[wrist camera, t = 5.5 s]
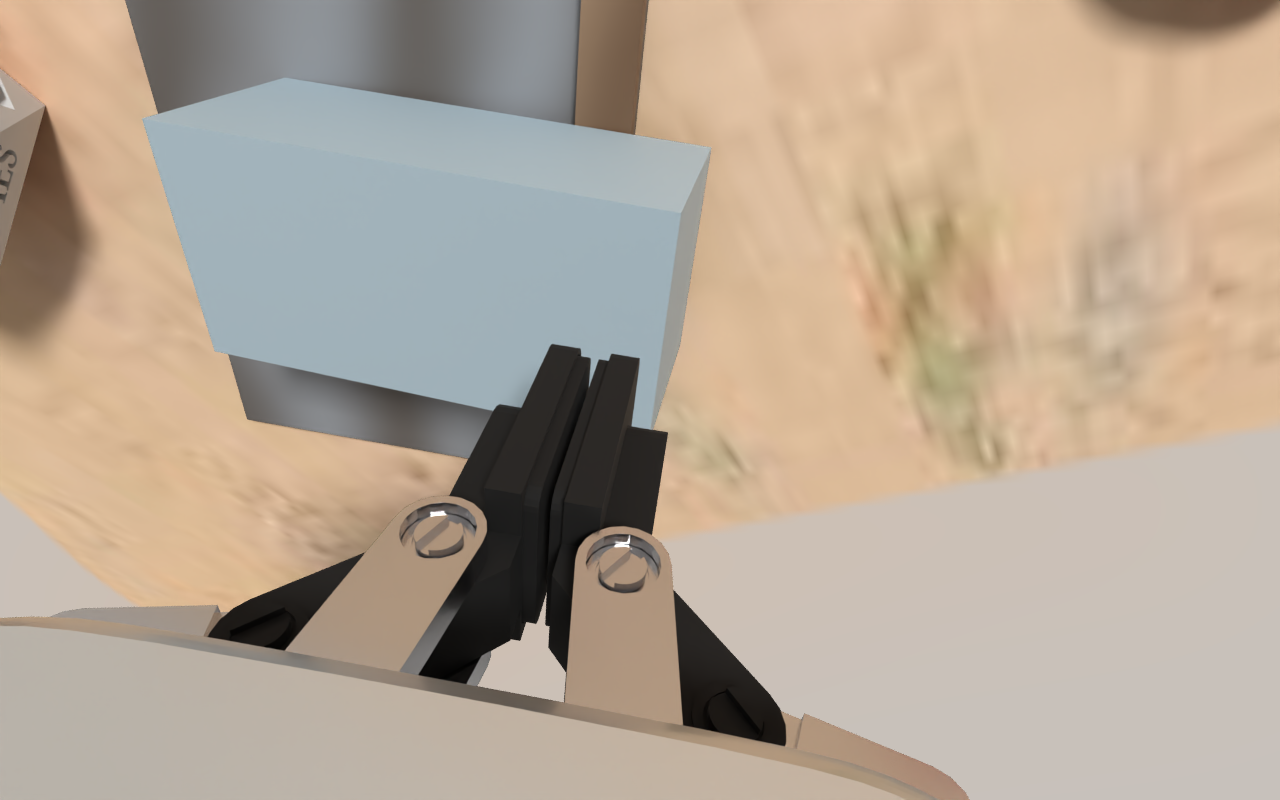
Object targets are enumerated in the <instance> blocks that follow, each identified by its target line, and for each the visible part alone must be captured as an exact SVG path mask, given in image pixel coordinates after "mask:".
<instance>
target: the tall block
mask: <svg viewBox="0 0 1280 800" xmlns="http://www.w3.org/2000/svg"><path fill="white" fill-rule="evenodd" d="M142 120H143V123H144V126H145V130H146V133H147V136H148V139H149V142H150V146H151V149H152V152H153V155H154V158H155V161H156V165H157V168H158V171H159V174H160V177H161V181H162V184H163V187H164V190H165V193H166V197H167V200H168V203H169V206H170V209H171V213H172V216H173V219H174V222H175V225H176V229H177V232H178V235H179V238H180V241H181V245H182V248H183V251H184V254H185V257H186V261H187V264H188V267H189V270H190V273H191V277H192V280H193V283H194V286H195V289H196V293H197V296H198V299H199V302H200V305H201V309H202V312H203V315H204V318H205V321H206V324H207V328H208V331H209V334H210V337H211V340H212V344H213V347H214V350H215V351H216V352H221V353H225V354H230V355H235V356H239V357H244V358H249V359H253V360H258V361H263V362H267V363H272V364H277V365H281V366H286V367H291V368H295V369H300V370H305V371H309V372H314V373H319V374H323V375H328V376H333V377H337V378H342V379H347V380H351V381H356V382H361V383H365V384H370V385H375V386H379V387H384V388H389V389H393V390H398V391H403V392H408V393H412V394H417V395H422V396H426V397H431V398H436V399H440V400H445V401H450V402H454V403H459V404H464V405H468V406H473V407H478V408H482V409H487V410H492V411H493V410H494V409H495V407H496V406H497V405H499V404H502V405H508V406H514V407H520V408H521V407H522V405H523V403H524V401H525V399H526V397H527V394H528V392H529V390H530V388H531V386H532V384H533V381H534V379H535V377H536V375H537V373H538V371H539V369H540V366H541V364H542V362H543V360H544V358H545V356H546V353H547V351H548V349H549V347H550V345H551V344H557V345H563V346H569V347H575V348H580V349H581V356H583V357H589V358H591V367H590V379H589V386H590V383H591V380H592V377H593V374H594V372H595V369H596V366H597V363H598V360H599V359H601V360H607V361H609V358H610V356H611V354H618V355H624V356H630V357H636V358H640V365H639V373H638V380H637V388H636V396H635V403H634V411H633V419H632V426H633V427H638V428H644V429H650V430H653V428H654V425H655V422H656V419H657V416H658V412H659V409H660V406H661V403H662V400H663V397H664V394H665V391H666V387H667V384H668V381H669V378H670V375H671V372H672V369H673V366H674V362H675V359H676V356H677V353H678V350H679V347H680V342H681V336H682V329H683V323H684V317H685V310H686V304H687V298H688V292H689V285H690V279H691V273H692V267H693V260H694V254H695V248H696V242H697V235H698V229H699V223H700V216H701V210H702V204H703V198H704V191H705V185H706V179H707V173H708V166H709V160H710V154H711V147H706V146H699V145H693V144H687V143H681V142H675V141H669V140H663V139H657V138H651V137H645V136H638V135H632V134H626V133H620V132H614V131H608V130H602V129H596V128H590V127H584V126H577V125H571V124H565V123H559V122H553V121H547V120H541V119H535V118H529V117H523V116H516V115H510V114H504V113H498V112H492V111H486V110H480V109H474V108H468V107H462V106H455V105H449V104H443V103H437V102H431V101H425V100H419V99H413V98H407V97H401V96H394V95H388V94H382V93H376V92H370V91H364V90H358V89H352V88H346V87H340V86H334V85H327V84H321V83H315V82H309V81H303V80H297V79H291V78H282V79H278V80H275V81H271V82H268V83H264V84H261V85H257V86H254V87H250V88H247V89H244V90H240V91H237V92H233V93H230V94H226V95H223V96H219V97H216V98H212V99H209V100H205V101H202V102H198V103H195V104H191V105H188V106H184V107H181V108H177V109H174V110H170V111H167V112H163V113H160V114H156V115H153V116H150V117H146V118H143V119H142Z"/></svg>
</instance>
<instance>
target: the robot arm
mask: <svg viewBox="0 0 1280 800" xmlns="http://www.w3.org/2000/svg"><path fill="white" fill-rule="evenodd" d="M639 365H640V358H636V357H630V356H624V355H618V354H611V356H610V358H609V361H607V360H601V359H599V360H598V363H597V366H596V369H595V372H594V374H593V377H592V380H591V383H590V386H589V379H590V367H591V358H589V357H583V356H581V349H580V348H575V347H569V346H563V345H557V344H551V345H550V347H549V349H548V351H547V353H546V356H545V358H544V360H543V362H542V364H541V366H540V369H539V371H538V373H537V375H536V377H535V379H534V381H533V384H532V386H531V388H530V390H529V392H528V394H527V397H526V399H525V401H524V403H523V405H522V407H521V408H520V407H514V406H508V405H502V404H499V405H497V406H496V407H495V409H494V410H493V412H492V414H491V416H490V418H489V420H488V422H487V424H486V426H485V428H484V430H483V432H482V434H481V435H480V437H479V439H478V441H477V443H476V445H475V447H474V449H473V451H472V453H471V455H470V457H469V459H468V461H467V463H466V464H465V466H464V468H463V470H462V472H461V474H460V476H459V478H458V480H457V482H456V484H455V486H454V488H453V490H452V491H451V493H450V495H449V496H433V497H429V498H425V499H422V500H418V501H416V502H414V503H413V504H411V505H409V506H407V507H405V508H404V509H403V510H402V511H401V512H400V513H399V514H398V515H396V516H395V518H394V519H393V520H392V521H391V522H390V524H389V525H388V526H387V527H386V528H385V530H384V531H383V532H382V533H381V535H380V536H379V537H378V538H377V539H376V541H375V542H374V543H373V544H372V545H371V547H370V548H369V549H368V550H367V552H365V553H363V554H360V555H358V556H355V557H353V558H350V559H348V560H346V561H343V562H341V563H338V564H336V565H333V566H331V567H328V568H326V569H323V570H321V571H319V572H316V573H314V574H311V575H309V576H306V577H304V578H301V579H299V580H297V581H294V582H292V583H289V584H287V585H284V586H282V587H279V588H277V589H274V590H272V591H270V592H267V593H265V594H262V595H260V596H257V597H255V598H252V599H250V600H248V601H246V602H244V603H242V604H241V605H239V606H237V607H235V608H233V609H232V610H231V611H230V612H220V610H219V608H218V605H208V606H165V607H123V608H84V609H76V610H70V611H64V612H61V613H58V614H56V615H53V616H51V617H15V618H14V617H12V618H0V800H969V798H968V796H967V794H966V793H965V792H964V791H963V790H962V789H961V787H960V786H959V785H957V783H956V782H955V781H954V780H953V779H952V778H951V777H949V776H948V775H946V774H944V773H943V772H941V771H939V770H938V769H936V768H934V767H933V766H930V765H928V764H925V763H923V762H921V761H918V760H916V759H913V758H911V757H909V756H906V755H904V754H901V753H899V752H897V751H894V750H892V749H889V748H886V747H884V746H882V745H880V744H877V743H875V742H872V741H870V740H868V739H865V738H863V737H860V736H858V735H855V734H853V733H850V732H848V731H846V730H843V729H841V728H838V727H836V726H834V725H831V724H829V723H826V722H824V721H822V720H819V719H817V718H814V717H812V716H809V715H807V714H804V715H803V717H802V719H798V718H796V717H793V716H791V715H789V714H786V713H784V712H782V711H781V710H780V708H779V707H778V705H777V704H776V703H775V701H774V700H773V698H772V697H771V695H770V694H769V693H768V692H767V691H766V690H765V689H764V688H763V687H762V686H761V684H760V683H759V682H758V681H757V680H756V679H755V678H754V677H753V676H752V675H751V673H750V672H749V671H748V670H747V669H746V668H745V667H744V666H743V665H742V664H741V663H740V662H739V660H738V659H737V658H736V657H735V656H734V655H733V654H732V653H731V652H730V651H729V650H728V649H727V647H726V646H725V645H724V644H723V643H722V642H721V641H720V640H719V639H718V638H717V637H716V635H715V634H714V633H713V632H712V631H711V630H710V629H709V628H708V627H707V626H706V625H705V624H704V622H703V621H702V620H701V619H700V618H699V617H698V616H697V615H696V614H695V613H694V612H693V610H692V609H691V608H690V607H689V606H688V605H687V604H686V603H685V602H684V601H683V600H682V599H681V598H680V596H679V595H678V594H677V593H676V592H675V591H674V590H673V581H672V580H673V579H672V565H671V561H670V557H669V554H668V552H667V551H666V549H665V548H664V546H663V545H662V543H661V542H659V541H658V540H657V539H656V538H654V537H653V536H652V531H653V525H654V519H655V512H656V506H657V500H658V493H659V487H660V480H661V474H662V468H663V461H664V455H665V449H666V442H667V436H668V432H662V431H656V430H650V429H644V428H638V427H633V426H632V419H633V411H634V403H635V396H636V388H637V380H638V373H639ZM546 592H547V598H546V623H545V624H546V626H550V627H549V628H550V629H549V649H550V650H551V652H552V653H553V654H554V656H555V657H556V659H557V660H558V662H559V663H560V664H561V666H562V667H563V669H564V670H565V672H566V682H565V695H564V703H563V702H558V701H553V700H548V699H542V698H537V697H531V696H526V695H521V694H515V693H510V692H504V691H499V690H494V689H488V688H483V687H478V686H477V685H478V684H479V682H480V680H481V678H482V676H483V674H484V672H485V670H486V668H487V666H488V663H489V660H490V657H491V651H492V650H493V649H495V648H497V647H499V646H501V645H503V644H505V643H506V642H508V641H510V639H513V640H519V641H520V640H521V637H522V633H523V630H524V627H525V624H526V622H529V623H535V624H536V623H537V621H538V619H539V616H540V612H541V609H542V606H543V602H544V599H545V596H546Z"/></svg>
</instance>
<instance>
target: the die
mask: <svg viewBox="0 0 1280 800" xmlns="http://www.w3.org/2000/svg"><path fill="white" fill-rule="evenodd" d="M44 109H45V105H44V104H43V103H42V102H41V101H39V100H38V99H37V98H36V97H34V96H33V95H32V94H31V93H30V92H28V91H27V90H26V89H25V88H23V87H22V86H21V85H20V84H18V83H17V82H16V81H15V80H14V79H12V78H11V77H10V76H9V75H7V74H6V73H5V72H4V71H3V70H1V69H0V265H1V262H2V259H3V255H4V252H5V248H6V245H7V241H8V237H9V234H10V230H11V227H12V223H13V220H14V216H15V212H16V209H17V205H18V202H19V198H20V195H21V191H22V187H23V184H24V180H25V177H26V173H27V170H28V166H29V162H30V159H31V155H32V152H33V148H34V145H35V141H36V137H37V134H38V130H39V127H40V123H41V120H42V116H43V112H44Z"/></svg>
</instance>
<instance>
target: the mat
mask: <svg viewBox="0 0 1280 800" xmlns="http://www.w3.org/2000/svg"><path fill="white" fill-rule="evenodd" d="M125 1H126V5H127V8H128V12H129V15H130V19H131V22H132V25H133V29H134V32H135V36H136V39H137V43H138V46H139V50H140V53H141V56H142V60H143V63H144V67H145V70H146V74H147V77H148V80H149V84H150V87H151V91H152V94H153V98H154V101H155V104H156V108H157V111H158V114H160V113H163V112H167V111H170V110H174V109H177V108H181V107H184V106H188V105H191V104H195V103H198V102H202V101H205V100H209V99H212V98H216V97H219V96H223V95H226V94H230V93H233V92H237V91H240V90H244V89H247V88H250V87H254V86H257V85H261V84H264V83H268V82H271V81H275V80H278V79H282V78H291V79H297V80H303V81H309V82H315V83H321V84H327V85H334V86H340V87H346V88H352V89H358V90H364V91H370V92H376V93H382V94H388V95H394V96H401V97H407V98H413V99H419V100H425V101H431V102H437V103H443V104H449V105H455V106H462V107H468V108H474V109H480V110H486V111H492V112H498V113H504V114H510V115H516V116H523V117H529V118H535V119H541V120H547V121H553V122H559V123H565V124H571V125H577V126H584V127H590V128H596V129H602V130H608V131H614V132H620V133H626V134H632V135H635V129H636V119H637V109H638V99H639V89H640V80H641V70H642V60H643V50H644V40H645V31H646V21H647V11H648V1H649V0H125ZM228 355H229V358H230V362H231V365H232V369H233V372H234V375H235V379H236V382H237V386H238V389H239V393H240V396H241V399H242V403H243V406H244V410H245V413H246V417H247V419H248V420H254V421H259V422H265V423H271V424H276V425H282V426H288V427H293V428H299V429H305V430H310V431H316V432H322V433H328V434H333V435H339V436H345V437H350V438H356V439H362V440H367V441H373V442H379V443H384V444H390V445H396V446H401V447H407V448H413V449H418V450H424V451H430V452H435V453H441V454H447V455H452V456H458V457H464V458H469V457H470V455H471V453H472V451H473V449H474V447H475V445H476V443H477V441H478V439H479V437H480V435H481V434H482V432H483V430H484V428H485V426H486V424H487V422H488V420H489V418H490V416H491V414H492V412H493V411H492V410H487V409H482V408H478V407H473V406H468V405H464V404H459V403H454V402H450V401H445V400H440V399H436V398H431V397H426V396H422V395H417V394H412V393H408V392H403V391H398V390H393V389H389V388H384V387H379V386H375V385H370V384H365V383H361V382H356V381H351V380H347V379H342V378H337V377H333V376H328V375H323V374H319V373H314V372H309V371H305V370H300V369H295V368H291V367H286V366H281V365H277V364H272V363H267V362H263V361H258V360H253V359H249V358H244V357H239V356H235V355H230V354H228Z"/></svg>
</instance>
